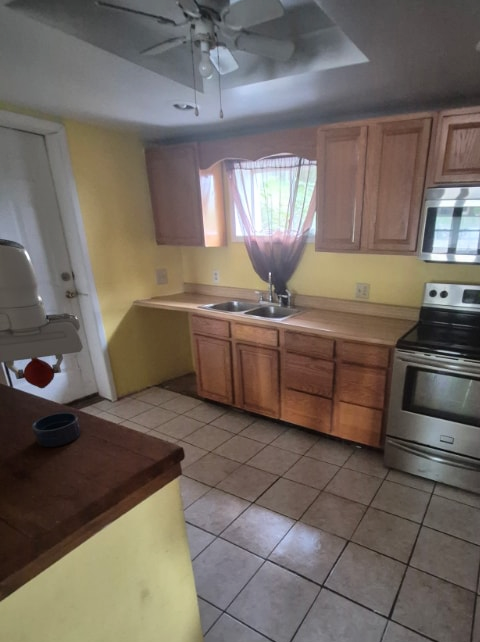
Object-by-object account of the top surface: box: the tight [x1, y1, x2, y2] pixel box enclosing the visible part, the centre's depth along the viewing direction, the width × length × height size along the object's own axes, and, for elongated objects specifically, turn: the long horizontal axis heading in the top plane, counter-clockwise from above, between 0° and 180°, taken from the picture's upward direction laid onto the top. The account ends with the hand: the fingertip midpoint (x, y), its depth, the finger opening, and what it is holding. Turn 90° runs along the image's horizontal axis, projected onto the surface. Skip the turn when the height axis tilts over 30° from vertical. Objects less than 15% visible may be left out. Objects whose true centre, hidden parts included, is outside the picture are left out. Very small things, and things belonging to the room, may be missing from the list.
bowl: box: [31, 412, 82, 448], centre depth 95 cm, size 10×10×5 cm
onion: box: [23, 358, 55, 389], centre depth 87 cm, size 6×6×8 cm
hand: (39, 375), depth 87 cm, fingers closed on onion, 6 cm apart
